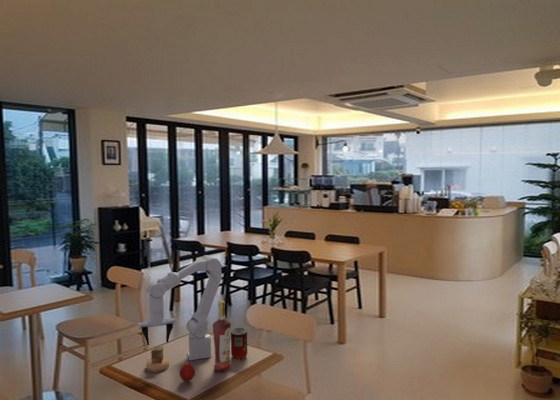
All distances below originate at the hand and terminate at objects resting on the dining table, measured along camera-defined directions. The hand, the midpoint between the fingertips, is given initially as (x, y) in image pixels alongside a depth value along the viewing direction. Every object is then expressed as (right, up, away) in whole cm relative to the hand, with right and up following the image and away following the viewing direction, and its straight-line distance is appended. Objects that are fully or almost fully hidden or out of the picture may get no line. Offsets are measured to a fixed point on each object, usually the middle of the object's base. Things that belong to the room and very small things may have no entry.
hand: (157, 342), depth 169 cm
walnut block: (0, -7, 0) cm, 7 cm away
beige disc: (0, -10, 0) cm, 10 cm away
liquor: (+27, -10, -2) cm, 29 cm away
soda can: (+33, -9, +8) cm, 35 cm away
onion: (+15, -11, -13) cm, 23 cm away
